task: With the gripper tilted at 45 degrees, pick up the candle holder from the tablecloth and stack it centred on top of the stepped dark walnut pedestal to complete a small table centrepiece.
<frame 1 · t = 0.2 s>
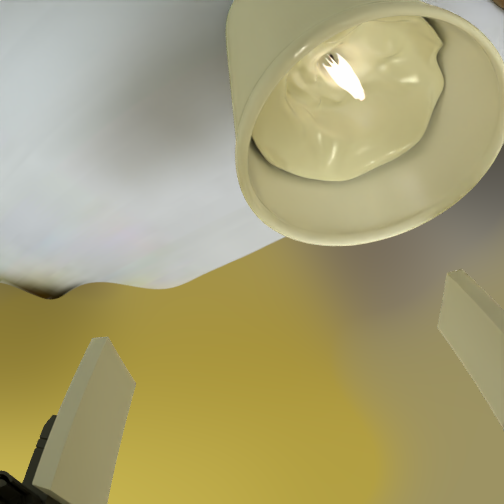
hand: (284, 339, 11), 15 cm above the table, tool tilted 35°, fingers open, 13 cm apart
candle holder: (295, 27, 15), on the table
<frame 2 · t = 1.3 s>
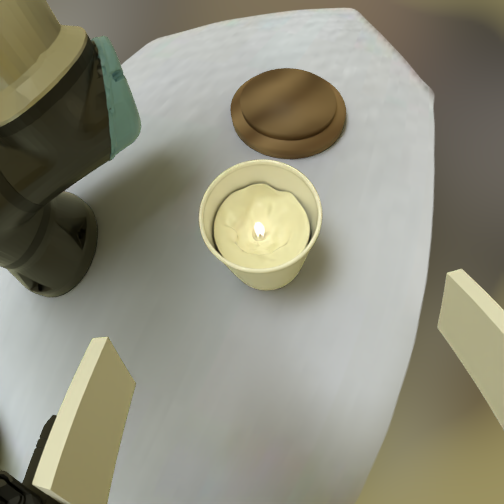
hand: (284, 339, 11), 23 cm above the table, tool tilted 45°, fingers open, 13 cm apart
candle holder: (267, 255, 36), on the table
walnut pedestal: (288, 113, 42), on the table
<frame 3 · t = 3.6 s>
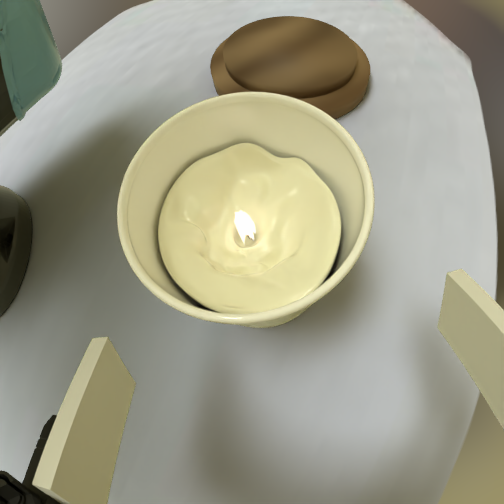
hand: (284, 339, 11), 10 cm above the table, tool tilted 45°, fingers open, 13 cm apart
candle holder: (262, 270, 23), on the table
walnut pedestal: (290, 71, 29), on the table
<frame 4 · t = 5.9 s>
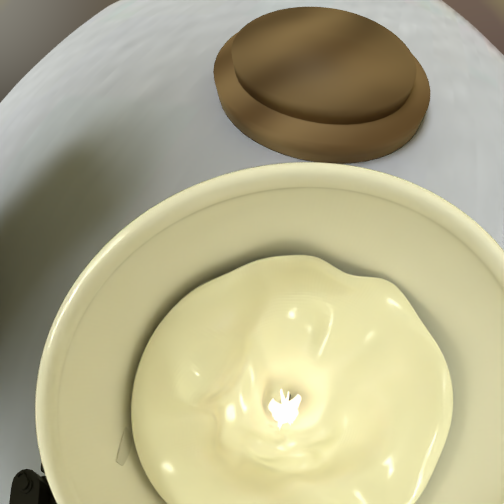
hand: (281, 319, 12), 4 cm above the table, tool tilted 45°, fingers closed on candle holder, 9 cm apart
candle holder: (292, 387, 15), on the table, touching gripper
walnut pedestal: (323, 80, 21), on the table
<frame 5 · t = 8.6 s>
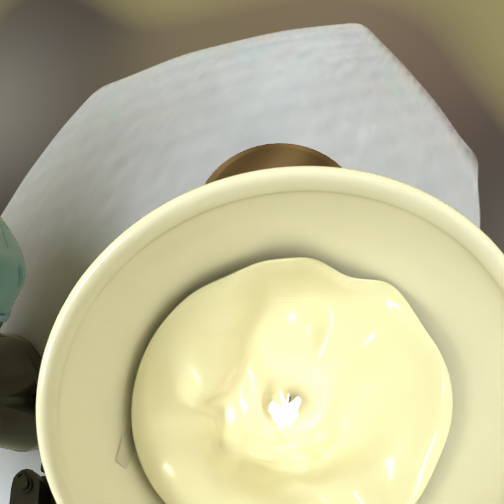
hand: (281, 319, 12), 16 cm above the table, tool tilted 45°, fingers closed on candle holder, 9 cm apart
candle holder: (292, 388, 15), point 12 cm above the table, touching gripper
walnut pedestal: (279, 222, 31), on the table
when the fingers open (9 cm above the table, at t = 11.3 s): candle holder moves 3 cm, resting on walnut pedestal.
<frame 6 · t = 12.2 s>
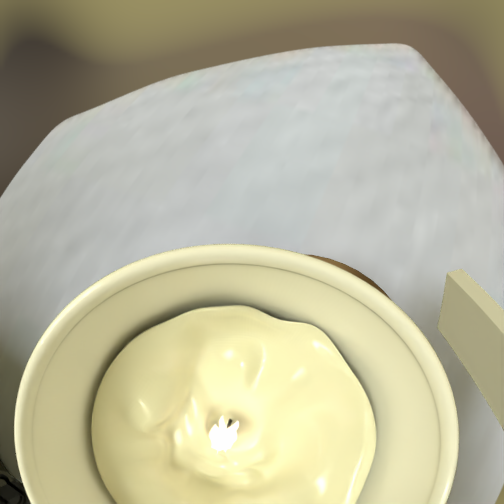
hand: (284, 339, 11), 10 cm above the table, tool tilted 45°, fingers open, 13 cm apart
candle holder: (239, 407, 16), point 4 cm above the table, touching gripper, walnut pedestal
walnut pedestal: (291, 378, 20), on the table
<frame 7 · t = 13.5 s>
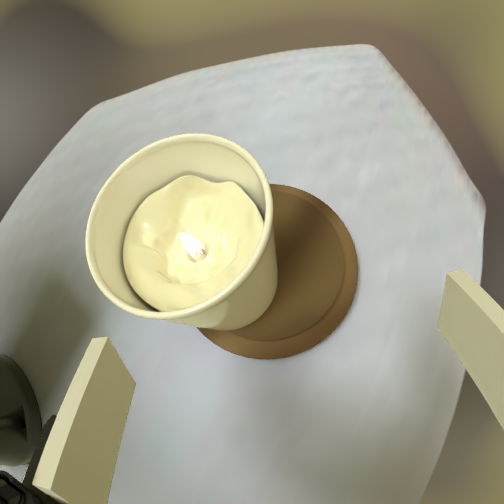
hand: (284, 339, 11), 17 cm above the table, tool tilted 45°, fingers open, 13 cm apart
candle holder: (227, 280, 26), point 4 cm above the table, touching walnut pedestal
walnut pedestal: (267, 271, 29), on the table
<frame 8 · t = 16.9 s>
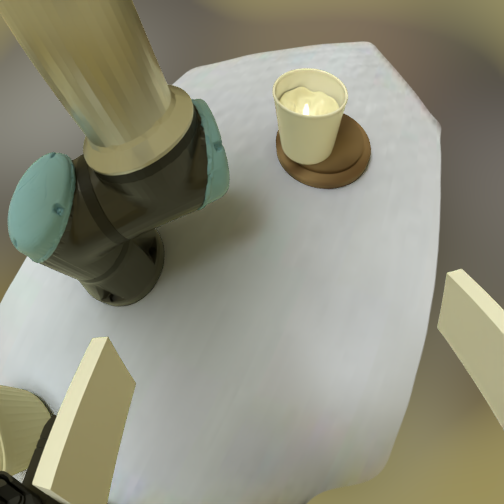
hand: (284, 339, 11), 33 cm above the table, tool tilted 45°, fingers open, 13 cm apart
canister: (36, 424, 41), on the table
candle holder: (307, 144, 48), point 3 cm above the table, touching walnut pedestal
walnut pedestal: (323, 148, 51), on the table
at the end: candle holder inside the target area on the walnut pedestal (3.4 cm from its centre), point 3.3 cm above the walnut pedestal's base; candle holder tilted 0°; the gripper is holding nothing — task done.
